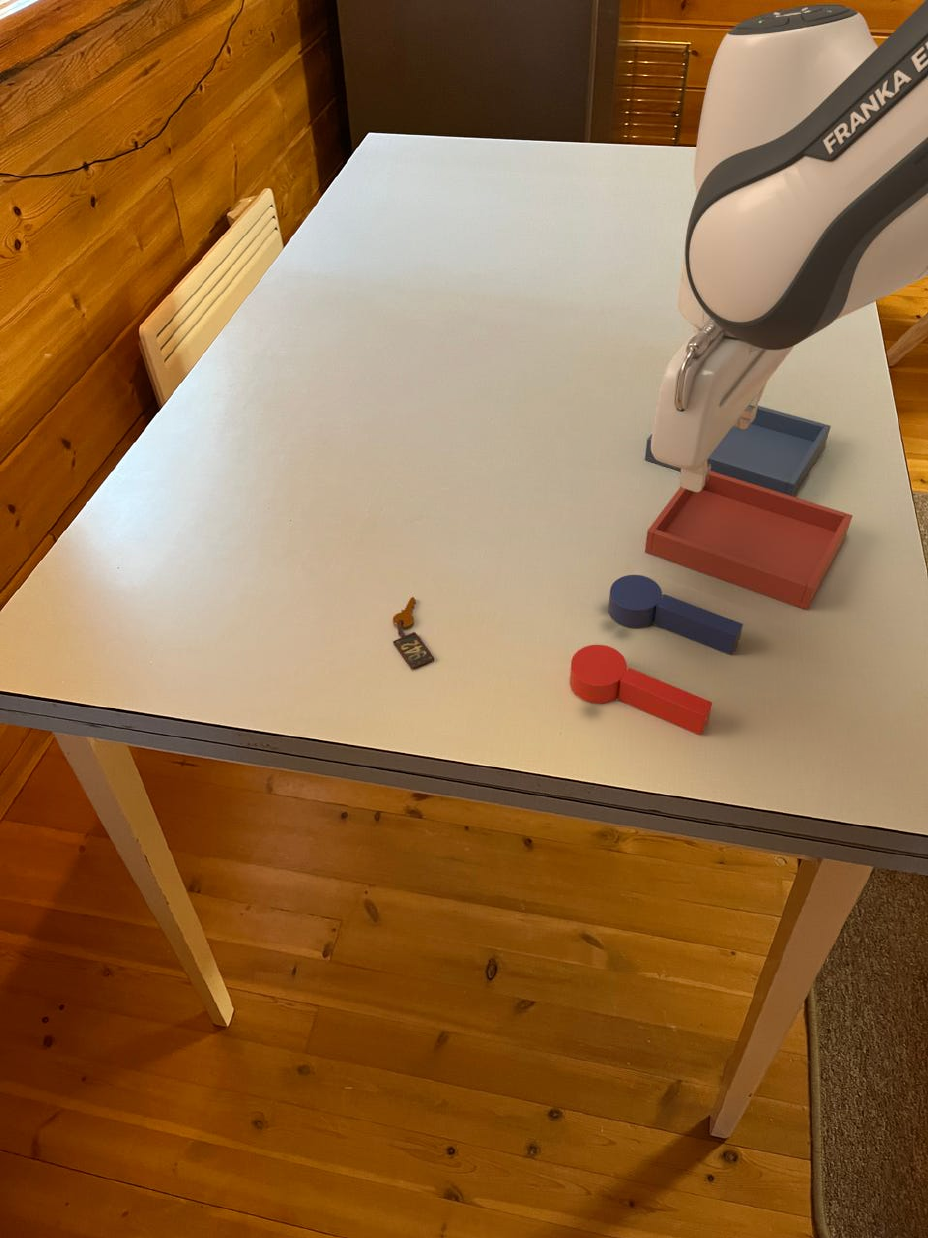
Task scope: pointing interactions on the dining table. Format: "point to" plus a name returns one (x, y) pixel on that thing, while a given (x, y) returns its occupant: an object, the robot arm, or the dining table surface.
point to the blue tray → (767, 451)
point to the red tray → (750, 537)
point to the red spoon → (634, 688)
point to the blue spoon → (669, 614)
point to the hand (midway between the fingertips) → (717, 453)
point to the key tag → (410, 639)
